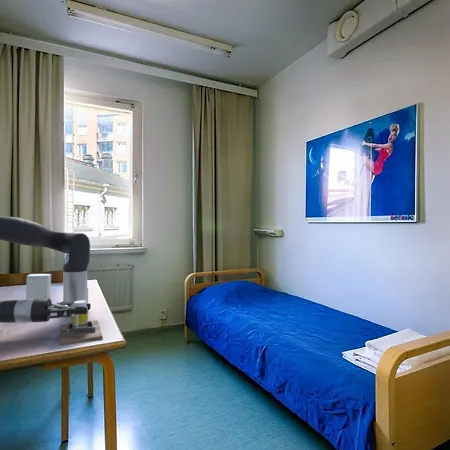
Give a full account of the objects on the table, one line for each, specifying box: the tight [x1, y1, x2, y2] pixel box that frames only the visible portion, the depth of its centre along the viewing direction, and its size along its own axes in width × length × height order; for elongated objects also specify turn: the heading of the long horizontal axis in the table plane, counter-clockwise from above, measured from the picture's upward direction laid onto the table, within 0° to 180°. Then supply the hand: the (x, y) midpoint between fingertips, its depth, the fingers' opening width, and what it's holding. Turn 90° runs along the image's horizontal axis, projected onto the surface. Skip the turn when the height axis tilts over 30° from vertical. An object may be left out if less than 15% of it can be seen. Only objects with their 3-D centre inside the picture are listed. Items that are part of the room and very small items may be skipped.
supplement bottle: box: [71, 300, 89, 329], centre depth 112 cm, size 5×5×8 cm
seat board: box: [59, 319, 103, 346], centre depth 112 cm, size 20×12×2 cm, turn 25°
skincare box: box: [25, 273, 52, 299], centre depth 142 cm, size 8×7×16 cm
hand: (88, 308), depth 112 cm, fingers closed on supplement bottle, 4 cm apart
